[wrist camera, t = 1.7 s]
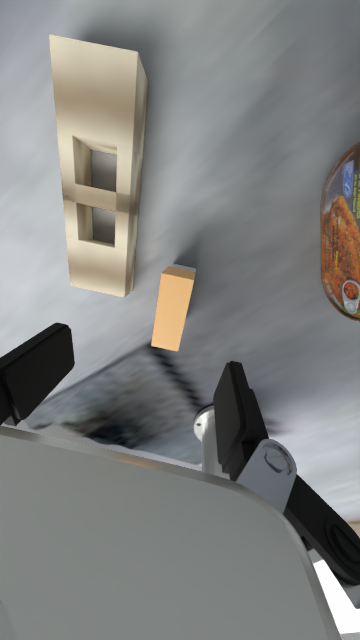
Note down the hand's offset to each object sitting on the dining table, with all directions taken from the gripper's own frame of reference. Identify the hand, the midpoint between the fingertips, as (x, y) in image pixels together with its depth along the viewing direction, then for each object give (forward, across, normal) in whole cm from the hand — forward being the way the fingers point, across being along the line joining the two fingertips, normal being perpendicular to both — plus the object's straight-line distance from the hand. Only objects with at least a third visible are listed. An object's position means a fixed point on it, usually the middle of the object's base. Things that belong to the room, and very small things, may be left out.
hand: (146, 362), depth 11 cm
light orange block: (+15, 0, +1) cm, 15 cm away
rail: (+16, +10, -8) cm, 20 cm away
